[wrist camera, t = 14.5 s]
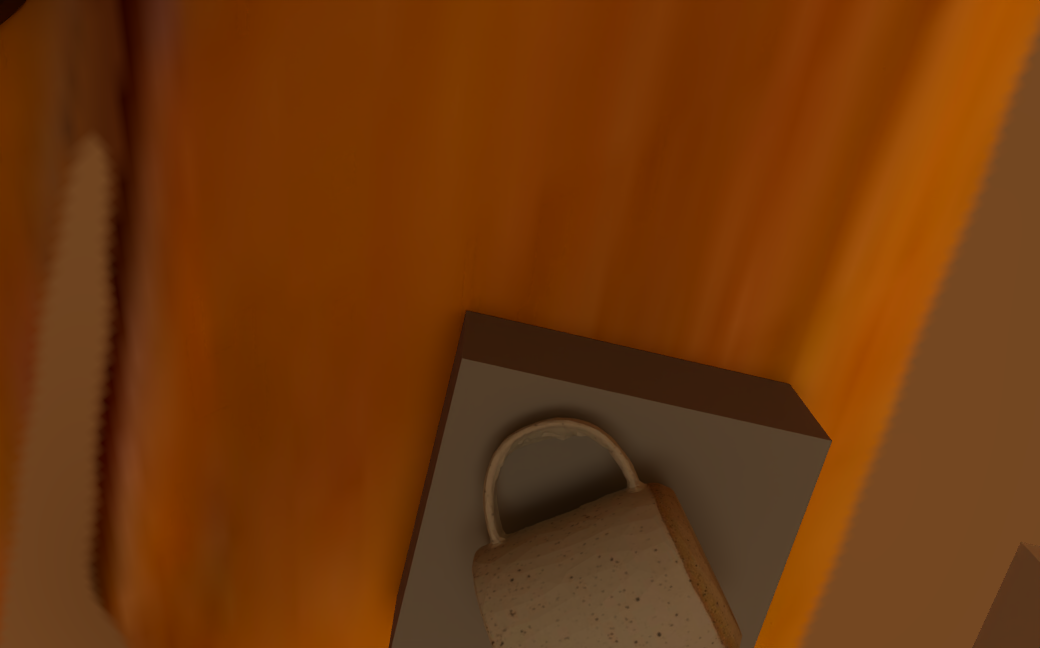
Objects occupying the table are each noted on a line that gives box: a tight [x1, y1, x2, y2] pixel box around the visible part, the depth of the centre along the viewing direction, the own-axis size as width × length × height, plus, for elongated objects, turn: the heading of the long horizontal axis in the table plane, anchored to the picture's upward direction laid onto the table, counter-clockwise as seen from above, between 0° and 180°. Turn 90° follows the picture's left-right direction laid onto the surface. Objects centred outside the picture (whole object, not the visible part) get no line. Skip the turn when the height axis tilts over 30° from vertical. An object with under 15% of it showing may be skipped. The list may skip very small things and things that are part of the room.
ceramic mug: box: [472, 417, 742, 648], centre depth 37 cm, size 11×8×8 cm
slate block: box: [389, 311, 832, 648], centre depth 44 cm, size 15×15×6 cm
